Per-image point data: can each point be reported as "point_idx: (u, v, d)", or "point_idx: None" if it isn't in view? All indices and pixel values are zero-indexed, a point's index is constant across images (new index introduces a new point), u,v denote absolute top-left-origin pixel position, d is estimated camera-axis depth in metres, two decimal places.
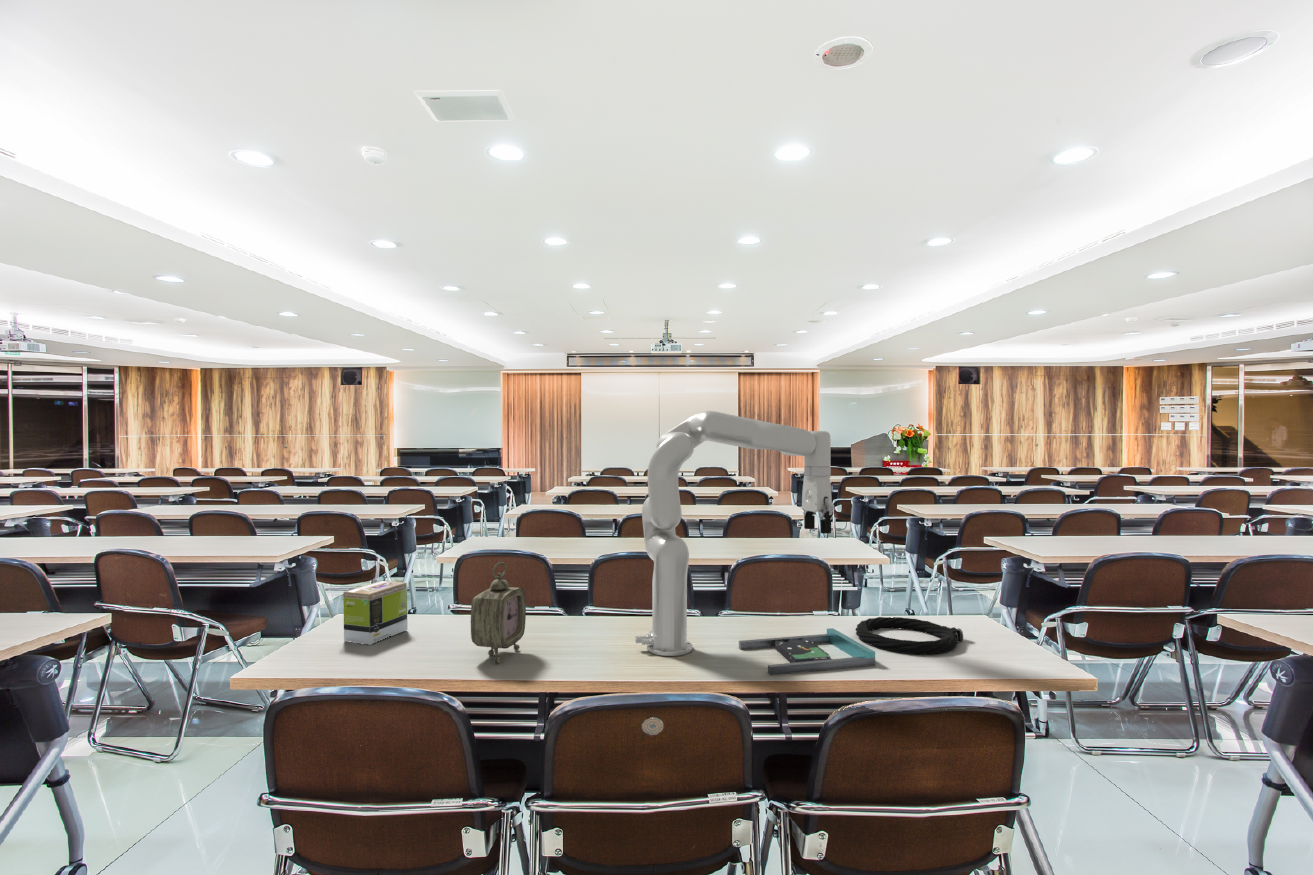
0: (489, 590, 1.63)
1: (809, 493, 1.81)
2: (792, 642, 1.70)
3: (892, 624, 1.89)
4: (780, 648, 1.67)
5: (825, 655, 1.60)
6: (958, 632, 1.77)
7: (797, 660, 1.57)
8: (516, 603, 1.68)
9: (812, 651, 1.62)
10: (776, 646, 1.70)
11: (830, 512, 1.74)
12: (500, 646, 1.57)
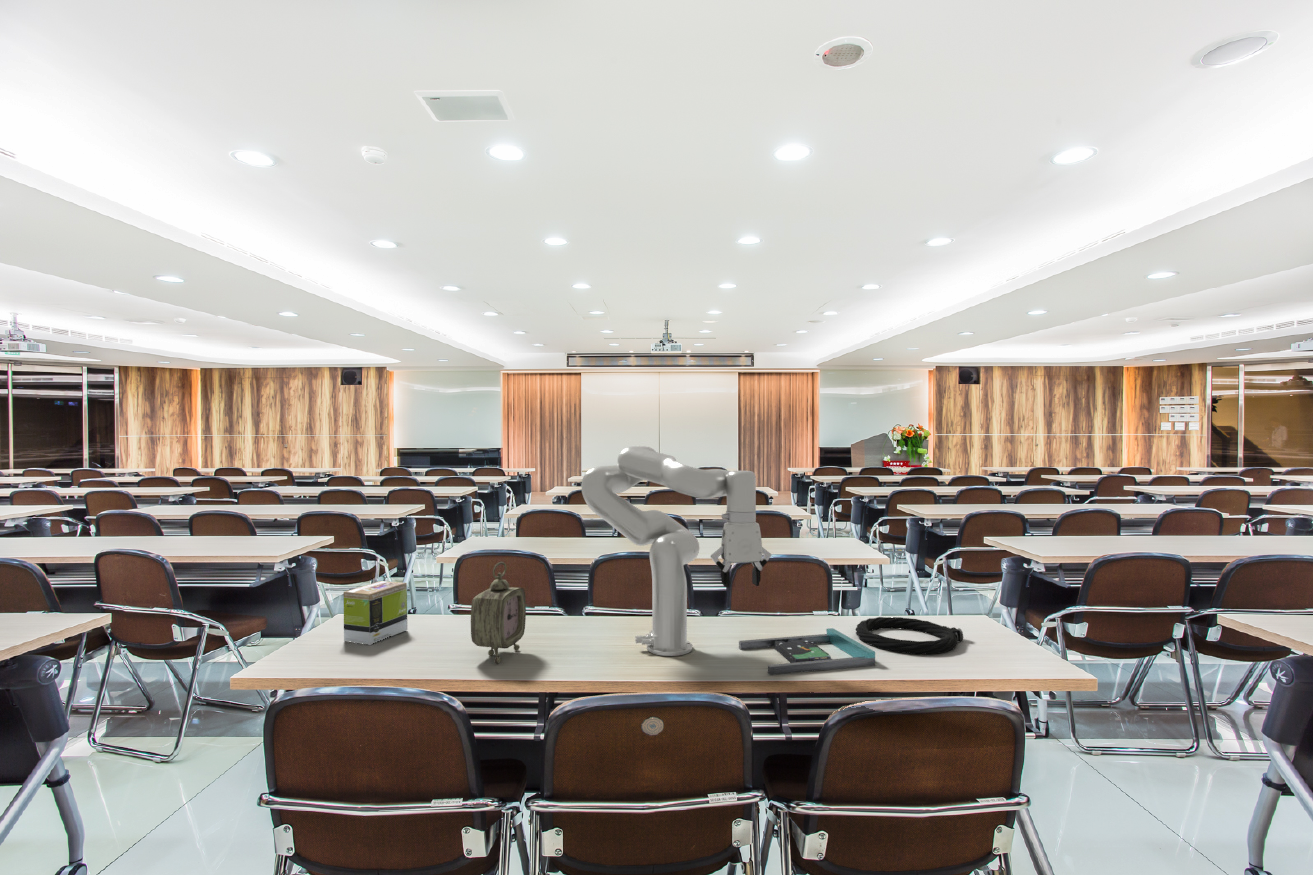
0: (489, 590, 1.63)
1: (746, 542, 1.58)
2: (792, 642, 1.70)
3: (892, 624, 1.89)
4: (780, 648, 1.67)
5: (825, 655, 1.60)
6: (958, 632, 1.77)
7: (797, 660, 1.57)
8: (516, 603, 1.68)
9: (812, 651, 1.62)
10: (775, 646, 1.70)
11: None
12: (500, 646, 1.57)
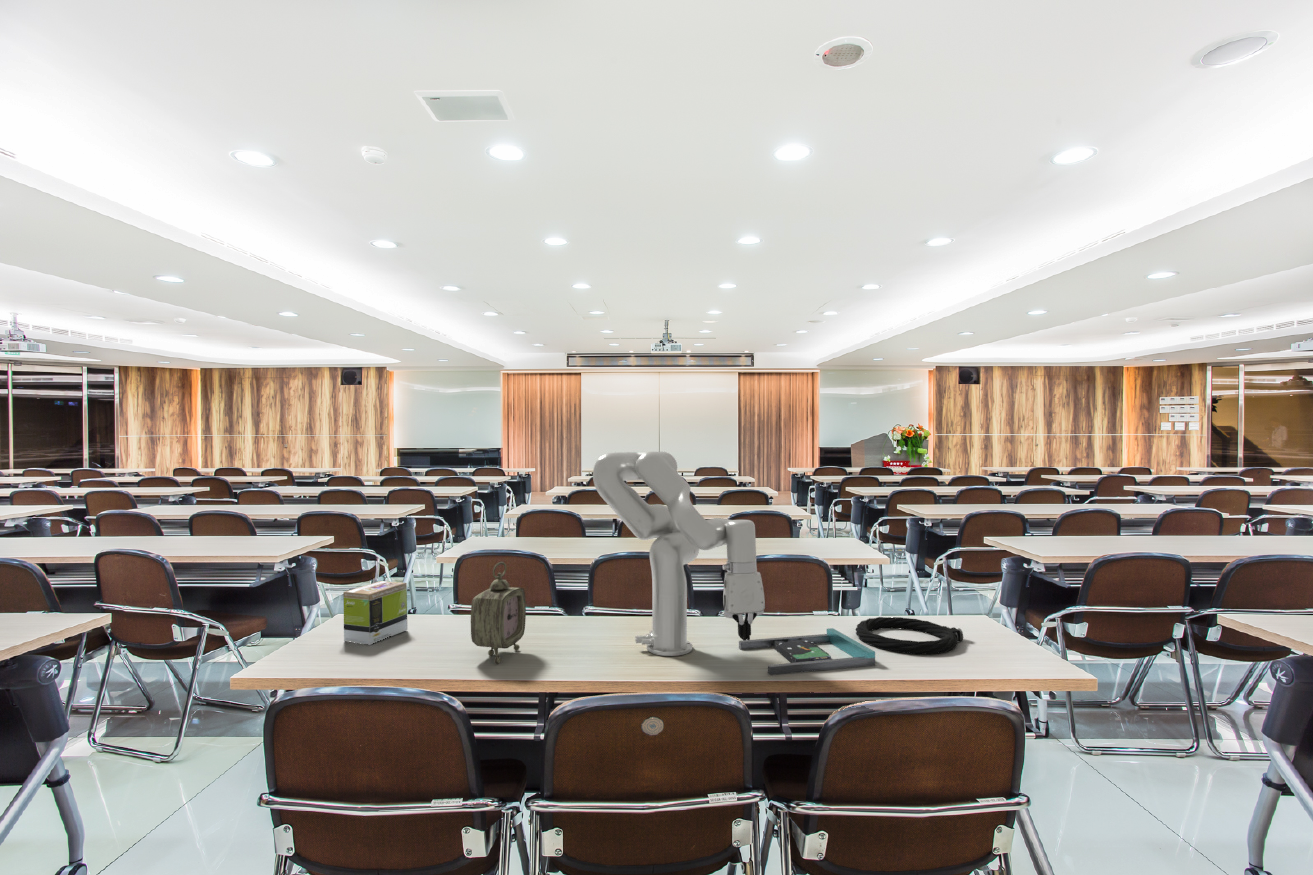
0: (489, 590, 1.63)
1: (748, 592, 1.58)
2: (792, 642, 1.70)
3: (892, 624, 1.89)
4: (780, 648, 1.67)
5: (825, 655, 1.60)
6: (958, 632, 1.77)
7: (798, 660, 1.57)
8: (516, 603, 1.68)
9: (812, 651, 1.63)
10: (775, 646, 1.70)
11: None
12: (500, 646, 1.57)
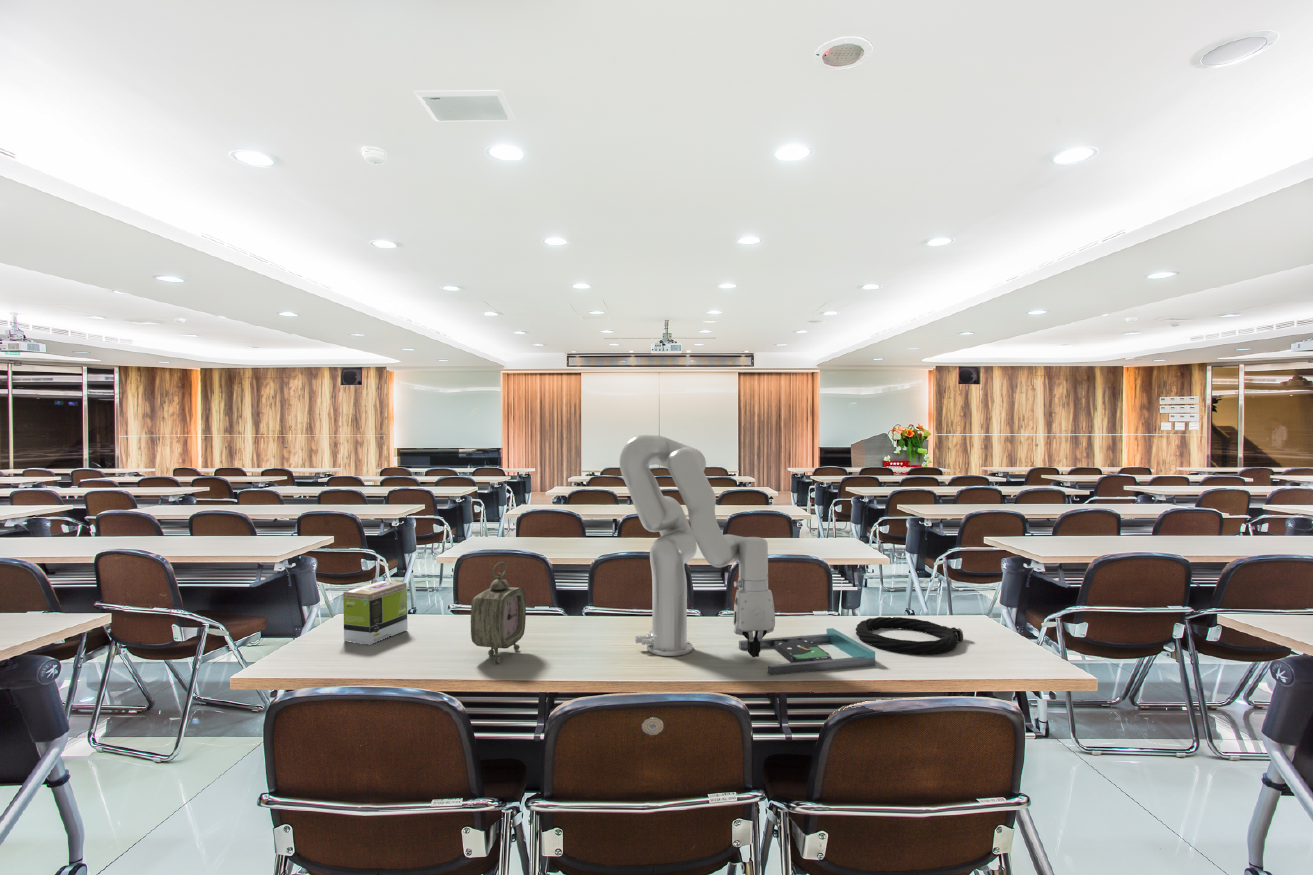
0: (489, 590, 1.63)
1: (759, 610, 1.59)
2: (791, 642, 1.70)
3: (892, 624, 1.89)
4: (780, 648, 1.67)
5: (825, 655, 1.60)
6: (958, 632, 1.77)
7: (798, 660, 1.57)
8: (516, 603, 1.68)
9: (812, 651, 1.63)
10: (775, 646, 1.70)
11: None
12: (500, 646, 1.57)
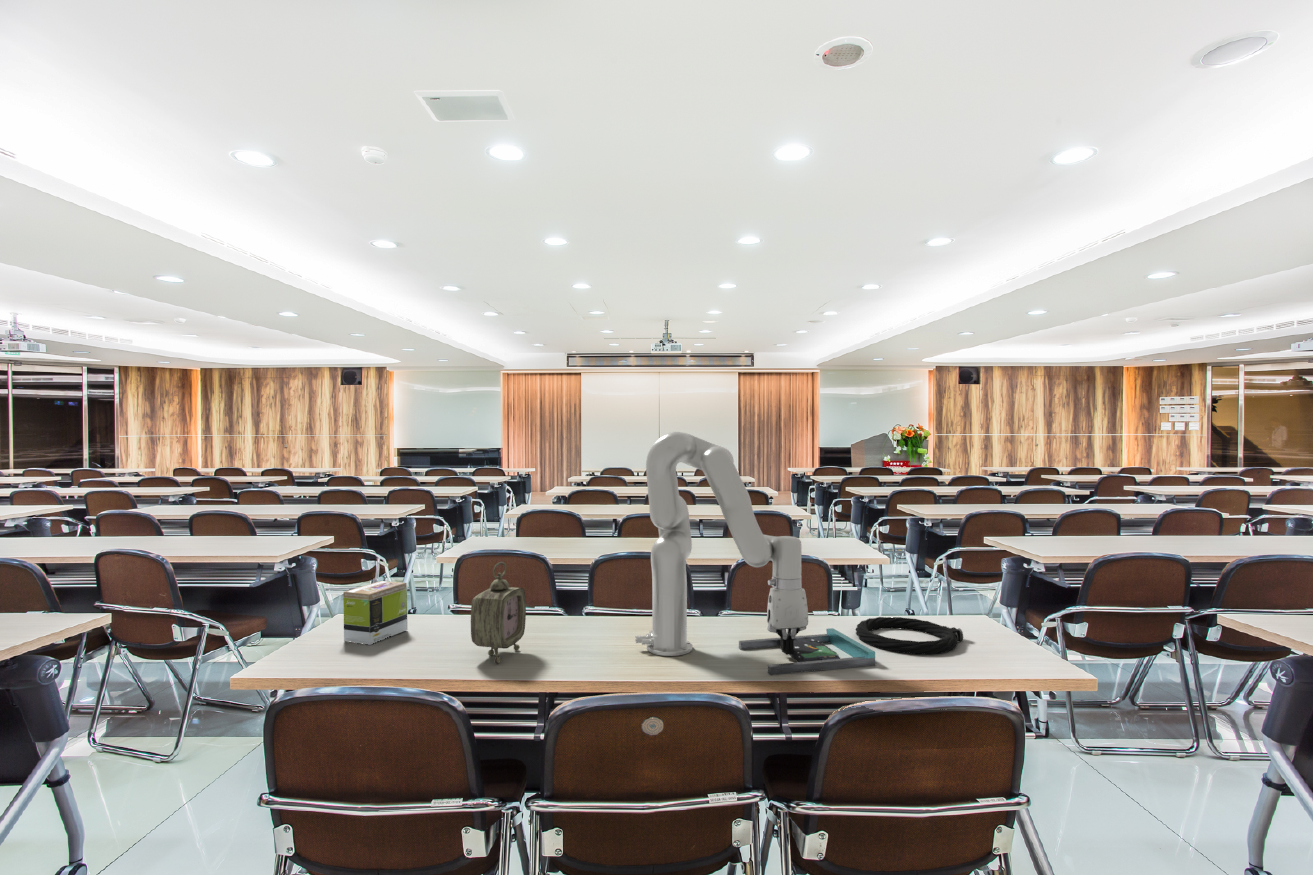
0: (489, 590, 1.63)
1: (793, 608, 1.61)
2: (798, 641, 1.71)
3: (892, 624, 1.89)
4: None
5: (833, 654, 1.60)
6: (958, 632, 1.77)
7: (806, 659, 1.57)
8: (516, 603, 1.68)
9: (819, 650, 1.63)
10: None
11: None
12: (500, 646, 1.57)
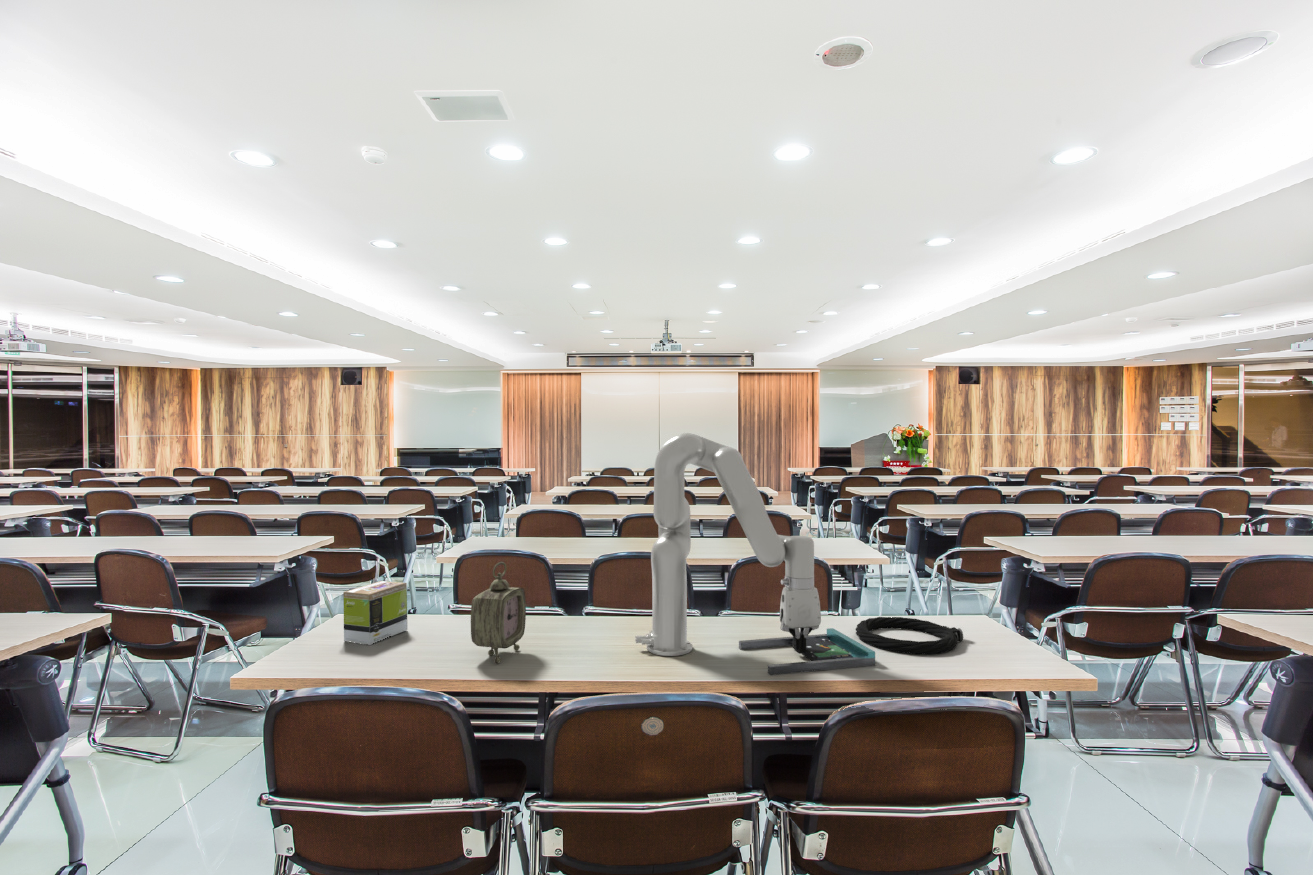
0: (489, 590, 1.63)
1: (805, 608, 1.62)
2: (809, 640, 1.72)
3: (892, 624, 1.89)
4: None
5: (846, 653, 1.61)
6: (958, 632, 1.77)
7: (820, 658, 1.58)
8: (516, 603, 1.68)
9: (832, 649, 1.64)
10: None
11: None
12: (500, 646, 1.57)
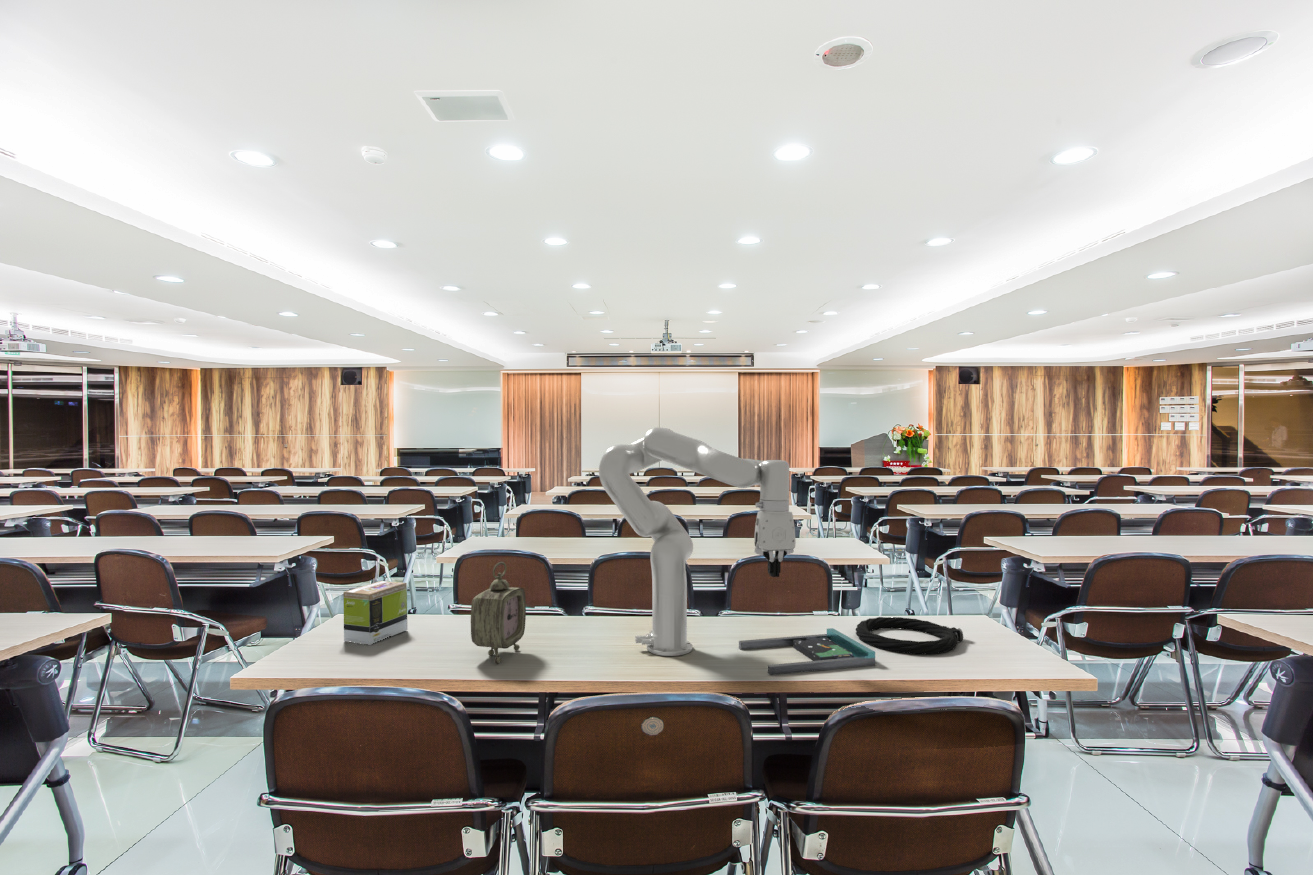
0: (489, 590, 1.63)
1: (780, 530, 1.61)
2: (810, 640, 1.72)
3: (892, 624, 1.89)
4: (800, 647, 1.68)
5: (847, 652, 1.62)
6: (958, 632, 1.77)
7: (822, 658, 1.58)
8: (516, 603, 1.68)
9: (833, 649, 1.64)
10: (794, 644, 1.71)
11: None
12: (500, 646, 1.57)
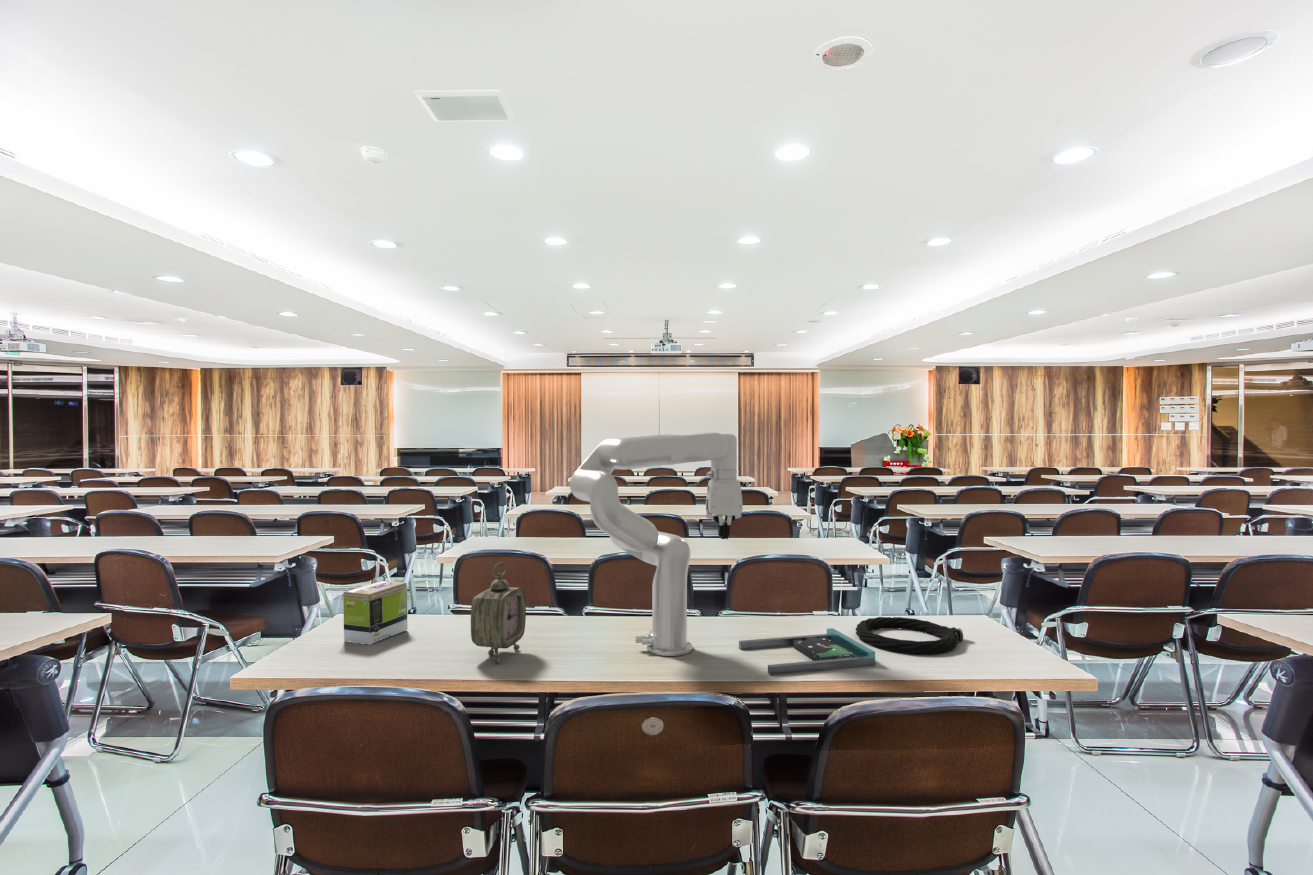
0: (489, 590, 1.63)
1: (728, 497, 1.78)
2: (810, 640, 1.72)
3: (892, 624, 1.89)
4: (800, 647, 1.68)
5: (847, 652, 1.62)
6: (958, 632, 1.77)
7: (822, 658, 1.58)
8: (516, 603, 1.68)
9: (833, 649, 1.64)
10: (794, 644, 1.71)
11: None
12: (500, 646, 1.57)
